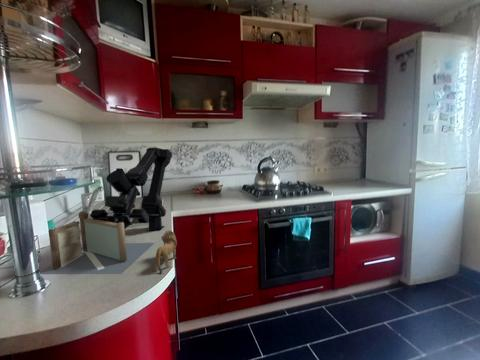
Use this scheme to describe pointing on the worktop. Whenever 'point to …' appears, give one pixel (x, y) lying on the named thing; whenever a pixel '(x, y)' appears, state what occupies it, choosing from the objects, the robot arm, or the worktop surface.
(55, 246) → the fixed fence section
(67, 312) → the worktop surface
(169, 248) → the lion figurine
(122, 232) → the swinging fence panel
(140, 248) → the card
